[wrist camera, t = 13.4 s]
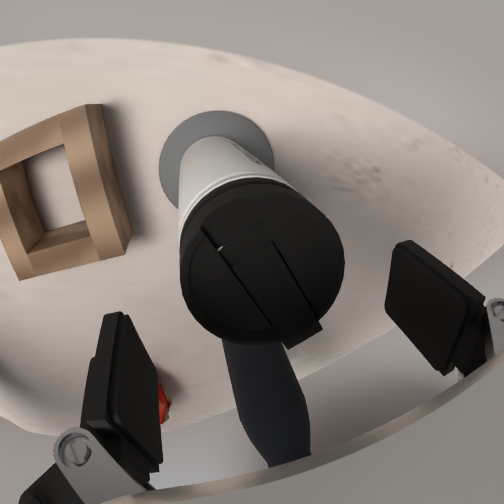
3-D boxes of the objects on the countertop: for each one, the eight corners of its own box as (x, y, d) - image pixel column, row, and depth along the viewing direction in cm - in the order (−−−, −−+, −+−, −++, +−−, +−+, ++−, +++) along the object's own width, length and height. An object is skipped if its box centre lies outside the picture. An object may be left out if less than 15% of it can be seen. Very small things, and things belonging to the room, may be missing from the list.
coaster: (276, 208, 32) (278, 210, 31) (172, 229, 30) (172, 232, 30) (264, 103, 26) (266, 103, 26) (149, 123, 25) (148, 124, 24)
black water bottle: (214, 302, 36) (283, 572, 10) (266, 291, 36) (378, 540, 11) (222, 339, 39) (283, 569, 13) (269, 329, 40) (358, 545, 14)
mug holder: (132, 231, 29) (124, 254, 25) (36, 257, 28) (19, 280, 23) (100, 104, 23) (84, 104, 18) (-1, 146, 21) (-26, 156, 17)
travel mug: (204, 213, 29) (243, 377, 12) (167, 158, 26) (139, 272, 9) (258, 179, 29) (371, 303, 12) (225, 122, 26) (315, 163, 9)
